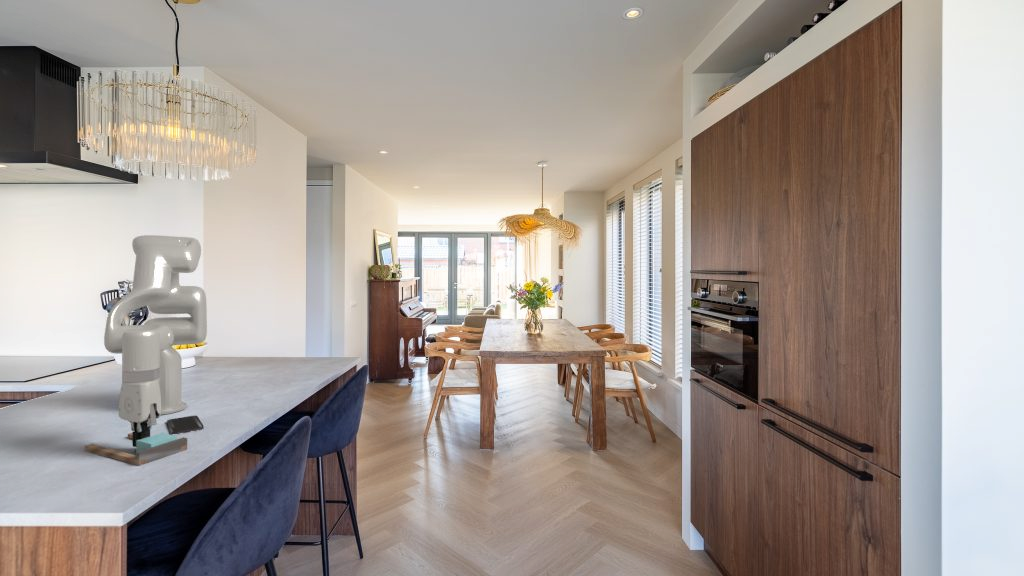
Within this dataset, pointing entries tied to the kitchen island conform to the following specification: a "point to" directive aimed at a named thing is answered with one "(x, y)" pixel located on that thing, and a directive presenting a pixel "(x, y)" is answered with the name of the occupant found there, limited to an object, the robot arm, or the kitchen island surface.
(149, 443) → the block
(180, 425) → the phone
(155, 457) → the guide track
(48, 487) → the kitchen island surface
